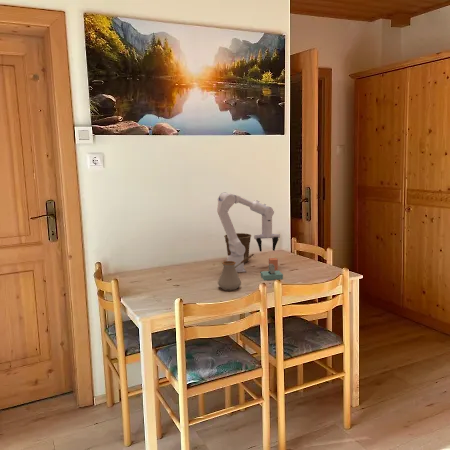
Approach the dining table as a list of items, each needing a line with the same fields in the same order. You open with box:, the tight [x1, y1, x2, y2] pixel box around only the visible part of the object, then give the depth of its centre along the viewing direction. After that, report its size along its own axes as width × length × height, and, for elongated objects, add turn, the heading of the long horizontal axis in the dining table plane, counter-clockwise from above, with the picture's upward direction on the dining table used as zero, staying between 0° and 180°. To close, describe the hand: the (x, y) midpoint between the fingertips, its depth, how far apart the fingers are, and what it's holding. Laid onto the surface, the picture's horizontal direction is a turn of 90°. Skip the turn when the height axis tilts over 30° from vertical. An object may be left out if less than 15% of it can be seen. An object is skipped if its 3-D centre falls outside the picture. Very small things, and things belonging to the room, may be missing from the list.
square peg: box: [268, 257, 279, 271], centre depth 255 cm, size 4×4×7 cm
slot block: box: [260, 270, 284, 281], centre depth 243 cm, size 10×8×2 cm
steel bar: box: [268, 263, 275, 275], centre depth 243 cm, size 2×4×7 cm, turn 8°
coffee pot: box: [217, 253, 255, 291], centre depth 228 cm, size 21×12×15 cm, turn 124°
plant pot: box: [223, 232, 252, 264], centre depth 277 cm, size 16×16×16 cm
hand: (267, 250), depth 263 cm, fingers open, 7 cm apart
